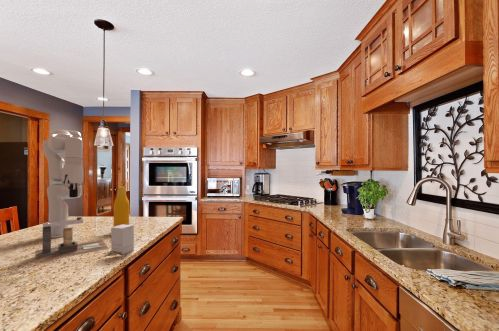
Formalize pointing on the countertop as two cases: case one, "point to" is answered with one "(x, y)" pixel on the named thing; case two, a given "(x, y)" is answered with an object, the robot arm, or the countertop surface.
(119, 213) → the beer bottle
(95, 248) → the eye board
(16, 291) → the countertop surface
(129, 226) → the supplement box
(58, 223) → the locking bar
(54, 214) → the robot arm
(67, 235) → the oak peg
